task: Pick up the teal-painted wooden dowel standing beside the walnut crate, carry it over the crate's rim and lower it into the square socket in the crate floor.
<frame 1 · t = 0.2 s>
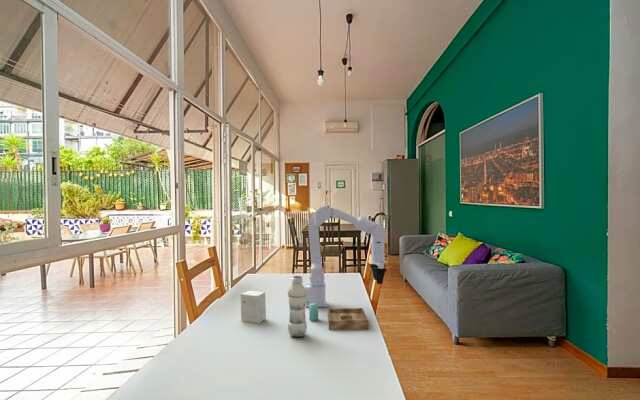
hand: (378, 281, 153), 10 cm above the table, fingers open, 7 cm apart
crate: (346, 322, 131), on the table
small box: (253, 320, 134), on the table
peg: (313, 319, 134), on the table
plastic bottle: (297, 335, 118), on the table
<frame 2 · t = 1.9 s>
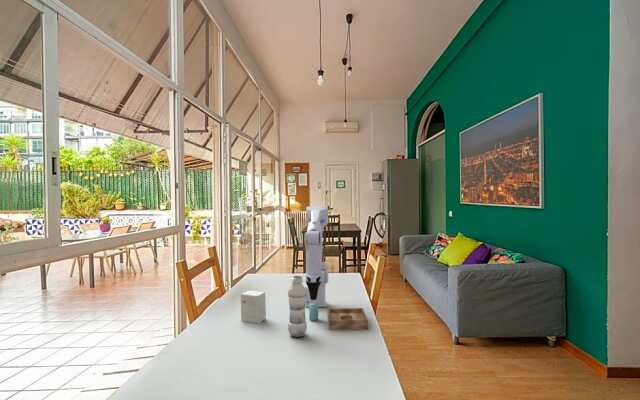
hand: (313, 296, 134), 9 cm above the table, fingers open, 7 cm apart
nothing on the table moved.
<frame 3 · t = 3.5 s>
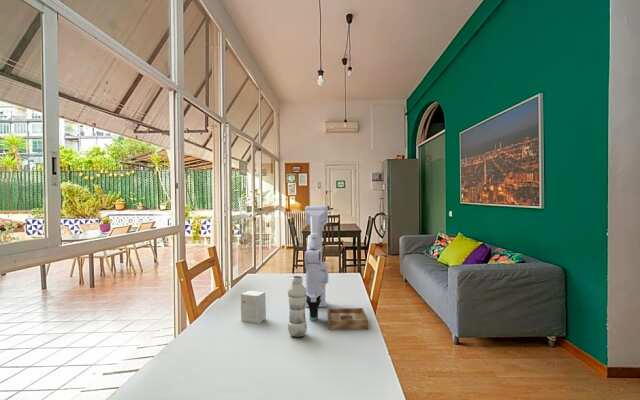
hand: (313, 315, 134), 2 cm above the table, fingers closed on peg, 3 cm apart
peg: (313, 319, 134), on the table, touching gripper
everything else where it was.
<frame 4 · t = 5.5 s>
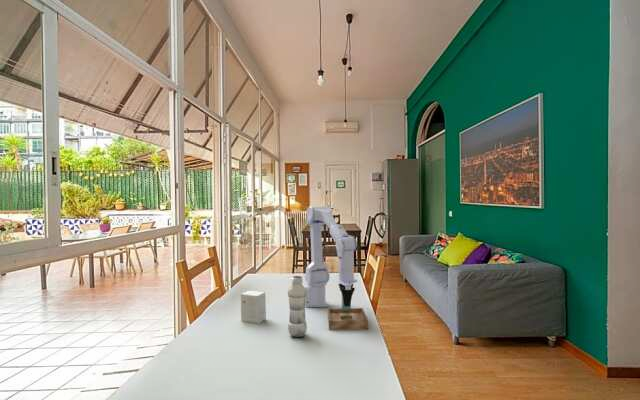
hand: (346, 304, 130), 7 cm above the table, fingers closed on peg, 3 cm apart
peg: (346, 308, 130), point 5 cm above the table, touching gripper
everything else where it was.
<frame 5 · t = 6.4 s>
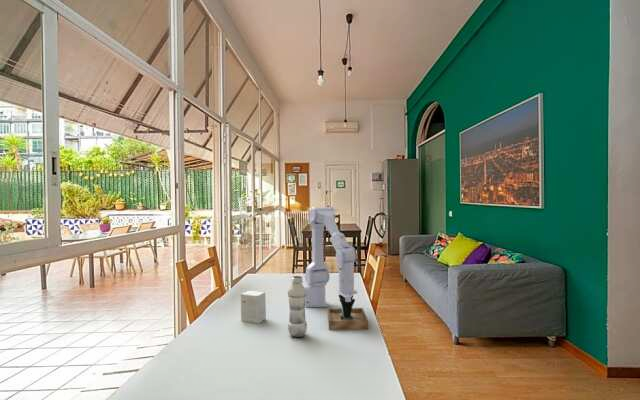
hand: (346, 315, 131), 3 cm above the table, fingers closed on peg, 3 cm apart
peg: (346, 320, 131), point 1 cm above the table, touching gripper
everything else where it was.
when the fingers open (3 cm above the table, at t = 7.3 s): peg stays where it is, resting in crate.
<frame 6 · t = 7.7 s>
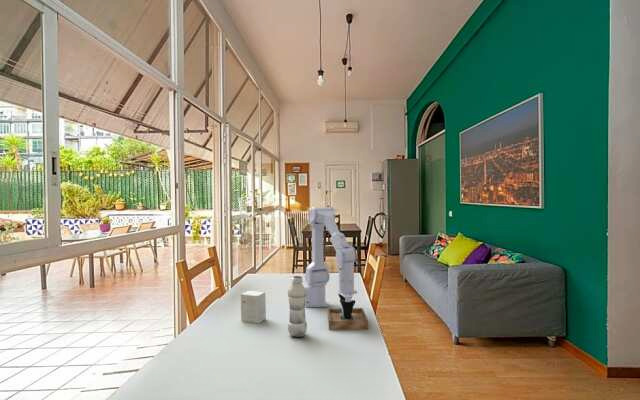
hand: (346, 315, 131), 3 cm above the table, fingers open, 7 cm apart
peg: (346, 322, 130), resting in crate
everything else where it was.
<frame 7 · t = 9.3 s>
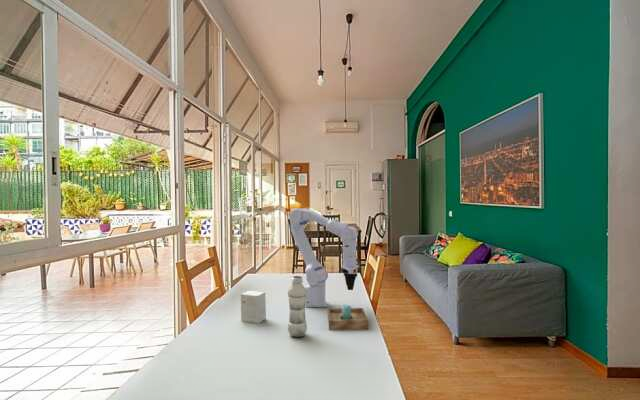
hand: (349, 287, 146), 9 cm above the table, fingers open, 7 cm apart
nothing on the table moved.
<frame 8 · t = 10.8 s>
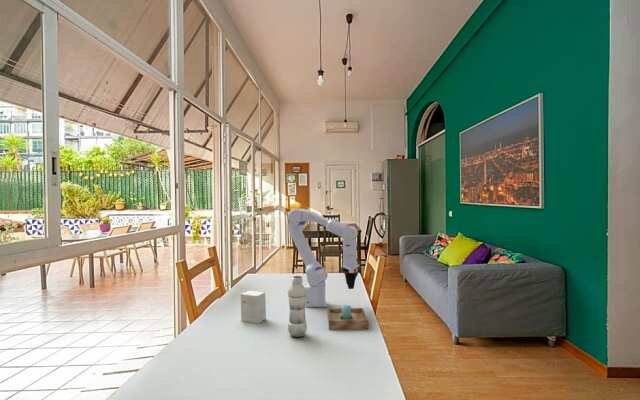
hand: (350, 286, 148), 9 cm above the table, fingers open, 7 cm apart
nothing on the table moved.
at the end: peg 0.1 cm off-centre on the crate, point 0.0 cm above the crate's base; peg tilted 0°; the gripper is holding nothing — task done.
